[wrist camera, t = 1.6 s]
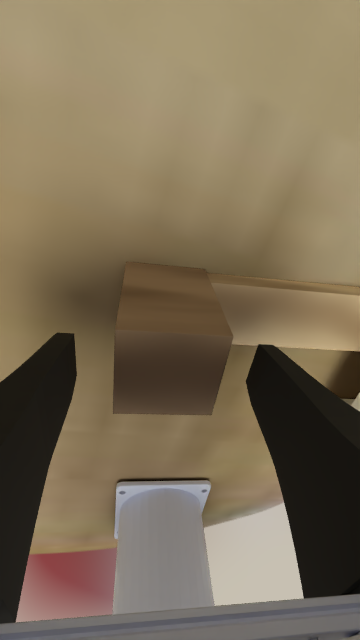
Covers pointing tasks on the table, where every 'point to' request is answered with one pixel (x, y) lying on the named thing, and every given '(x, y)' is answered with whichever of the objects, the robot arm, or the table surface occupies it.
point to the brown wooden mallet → (213, 331)
